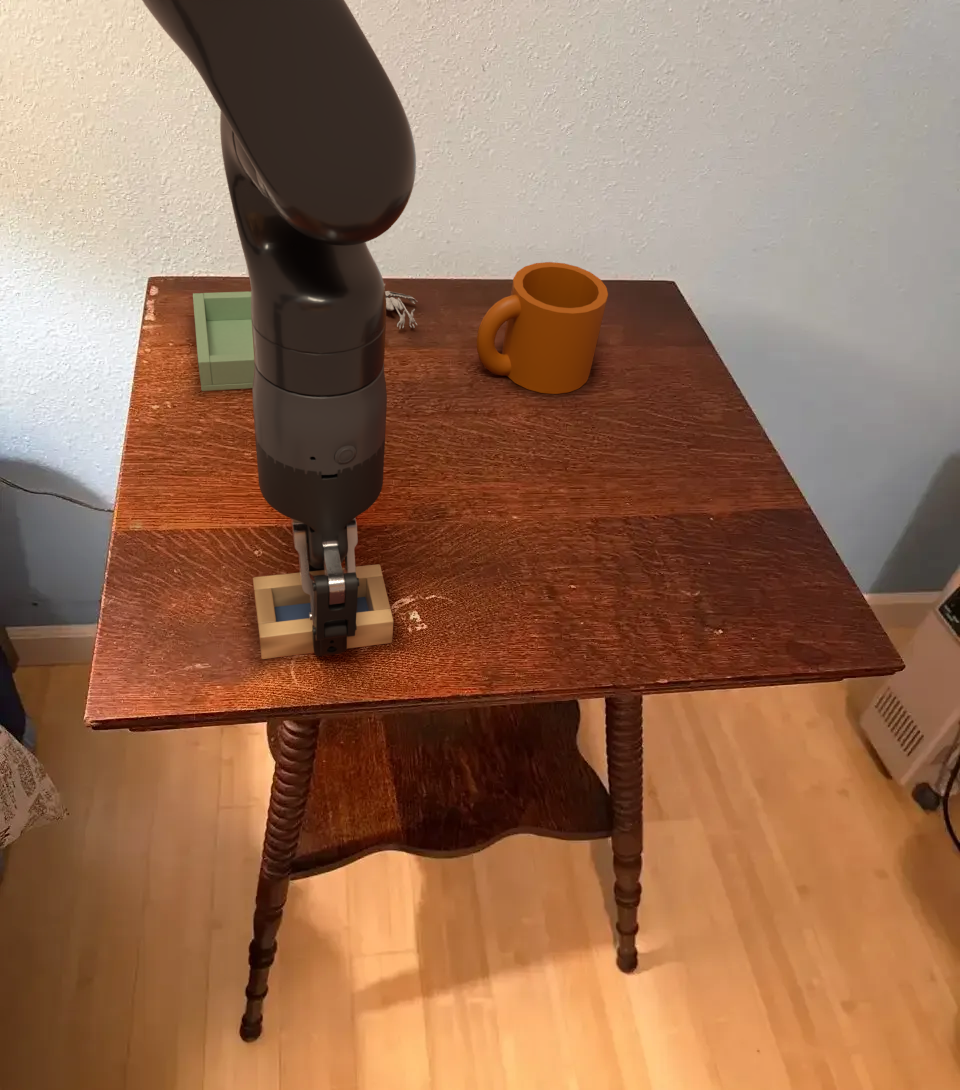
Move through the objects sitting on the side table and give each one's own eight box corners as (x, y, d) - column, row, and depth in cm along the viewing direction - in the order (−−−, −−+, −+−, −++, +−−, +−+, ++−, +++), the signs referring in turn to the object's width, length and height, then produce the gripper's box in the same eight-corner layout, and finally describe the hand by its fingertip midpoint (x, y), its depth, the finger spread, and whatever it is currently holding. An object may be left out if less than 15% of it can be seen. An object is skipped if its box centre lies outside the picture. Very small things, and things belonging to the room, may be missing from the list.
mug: (461, 343, 94) (470, 260, 88) (576, 342, 97) (593, 261, 91) (478, 397, 88) (489, 312, 82) (600, 394, 91) (620, 311, 84)
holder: (201, 391, 84) (198, 362, 82) (195, 321, 92) (192, 293, 90) (357, 382, 88) (358, 354, 86) (339, 315, 96) (339, 288, 93)
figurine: (433, 327, 95) (401, 295, 100) (436, 307, 94) (403, 276, 99) (380, 331, 93) (349, 298, 98) (382, 311, 91) (351, 279, 96)
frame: (261, 659, 64) (259, 637, 63) (254, 600, 68) (252, 577, 66) (392, 643, 66) (393, 621, 65) (378, 586, 70) (379, 563, 68)
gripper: (244, 357, 59) (259, 547, 71) (266, 515, 49) (279, 704, 61) (364, 351, 61) (359, 537, 72) (408, 502, 51) (394, 688, 63)
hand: (323, 613), depth 67 cm, fingers open, 6 cm apart
